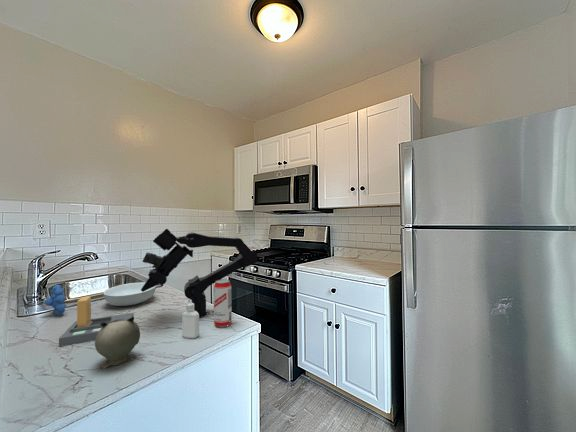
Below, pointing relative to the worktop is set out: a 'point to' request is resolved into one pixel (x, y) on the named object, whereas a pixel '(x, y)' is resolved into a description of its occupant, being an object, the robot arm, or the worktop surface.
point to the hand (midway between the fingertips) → (141, 290)
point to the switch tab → (84, 312)
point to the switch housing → (88, 330)
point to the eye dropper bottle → (190, 322)
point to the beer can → (222, 303)
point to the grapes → (57, 300)
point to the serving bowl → (128, 294)
